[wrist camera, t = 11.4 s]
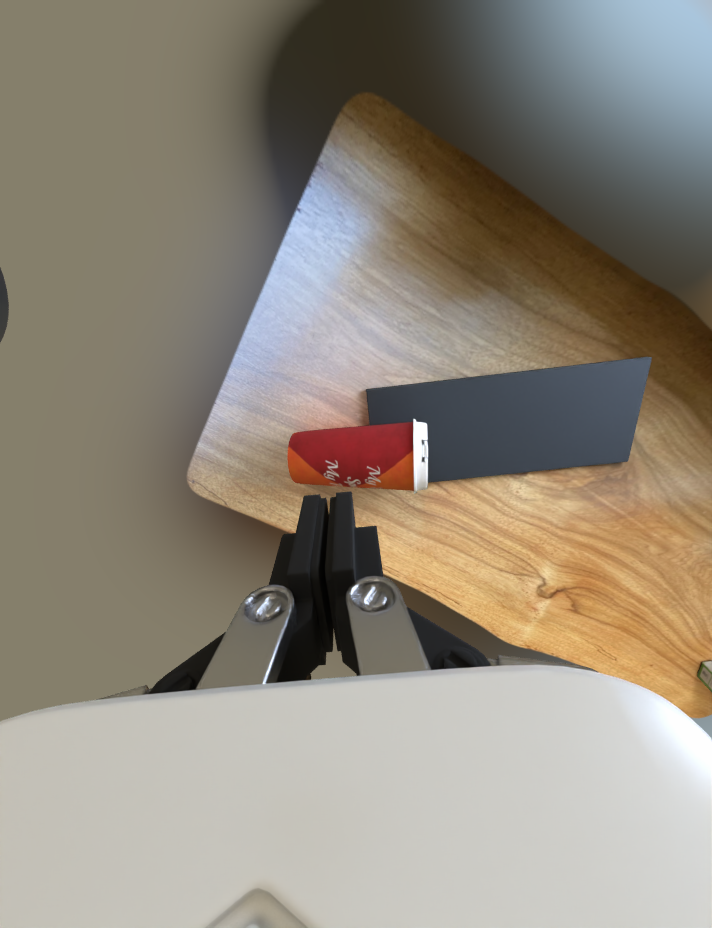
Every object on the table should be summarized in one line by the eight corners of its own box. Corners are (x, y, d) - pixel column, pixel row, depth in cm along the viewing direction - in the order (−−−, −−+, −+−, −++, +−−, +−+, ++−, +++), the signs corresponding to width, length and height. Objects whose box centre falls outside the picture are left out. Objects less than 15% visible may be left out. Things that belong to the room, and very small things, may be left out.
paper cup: (281, 490, 34) (428, 491, 32) (285, 414, 35) (427, 409, 33) (306, 494, 42) (426, 495, 40) (308, 431, 43) (425, 428, 41)
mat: (375, 485, 43) (376, 488, 43) (366, 389, 38) (366, 390, 38) (624, 459, 42) (628, 461, 42) (647, 356, 37) (652, 357, 37)
